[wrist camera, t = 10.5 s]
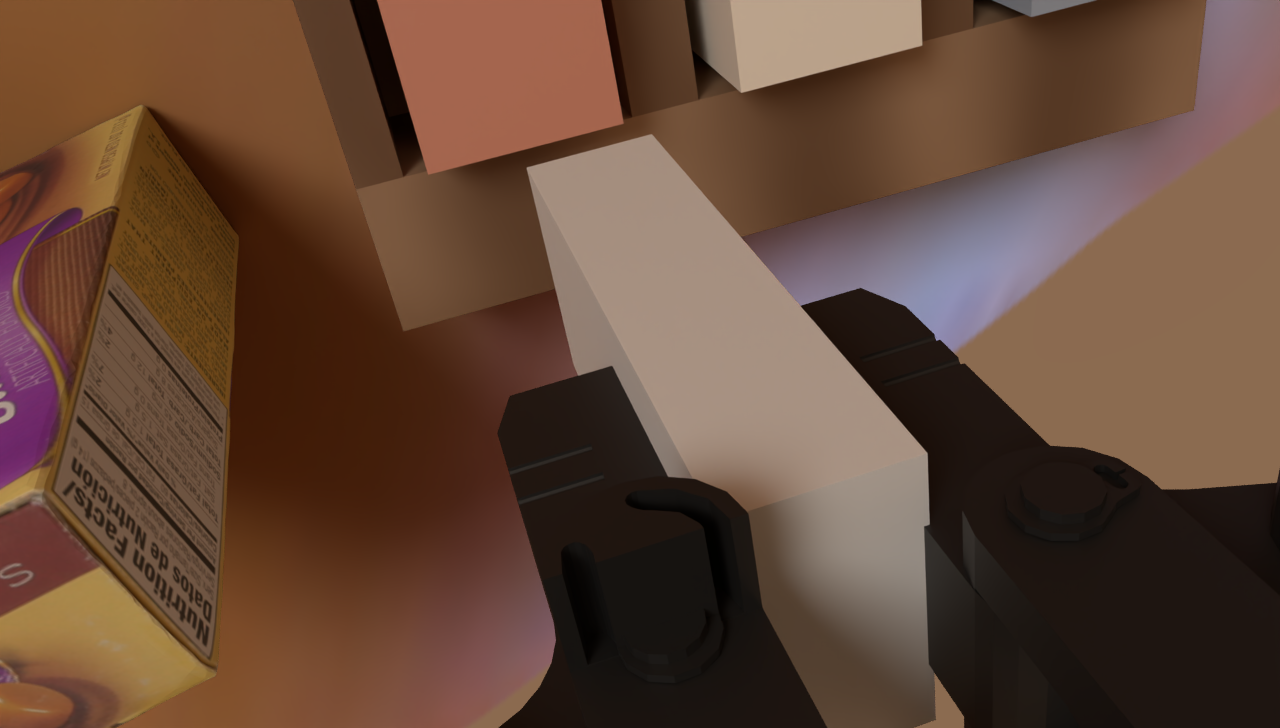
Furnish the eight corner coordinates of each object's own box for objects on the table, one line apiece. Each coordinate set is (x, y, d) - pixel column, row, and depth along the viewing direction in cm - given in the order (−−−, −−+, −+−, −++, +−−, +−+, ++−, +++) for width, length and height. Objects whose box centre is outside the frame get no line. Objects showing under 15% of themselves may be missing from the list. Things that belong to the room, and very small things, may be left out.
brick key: (409, 111, 25) (428, 174, 22) (355, -73, 23) (366, -35, 20) (580, 68, 26) (623, 123, 22) (543, -116, 23) (585, -86, 20)
